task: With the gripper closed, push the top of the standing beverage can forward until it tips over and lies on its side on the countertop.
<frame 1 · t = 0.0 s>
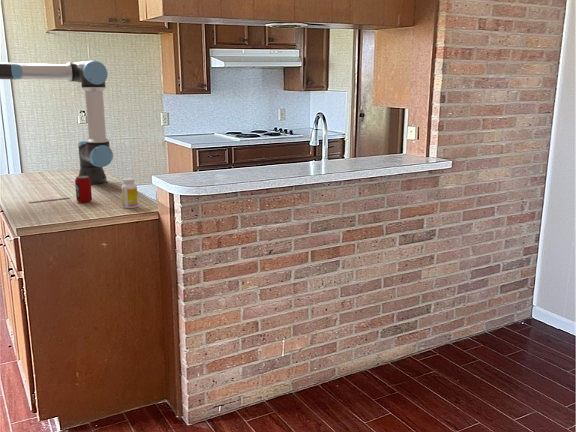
supplement bottle: (130, 207, 248), on the worktop
beverage can: (84, 202, 257), on the worktop
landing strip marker: (49, 200, 259), on the worktop
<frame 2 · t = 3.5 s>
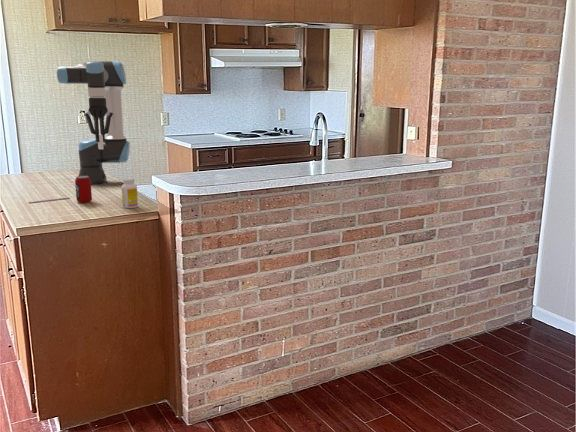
hand: (100, 149, 257), 24 cm above the worktop, fingers closed
nothing on the worktop moved.
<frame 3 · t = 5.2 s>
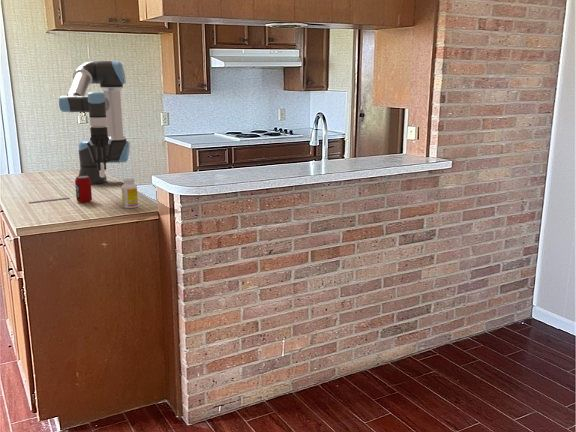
hand: (102, 176, 260), 11 cm above the worktop, fingers closed
nothing on the worktop moved.
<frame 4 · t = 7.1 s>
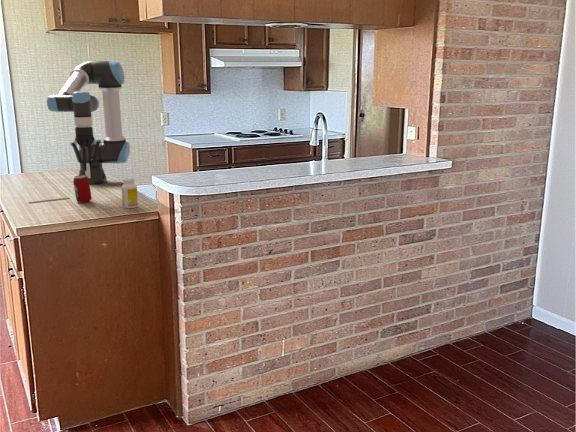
hand: (88, 177, 256), 11 cm above the worktop, fingers closed
beverage can: (84, 201, 257), on the worktop, touching gripper
everything else where it was.
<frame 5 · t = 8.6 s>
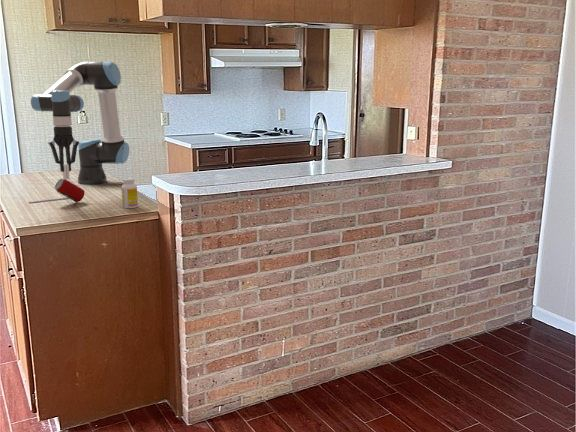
hand: (66, 178, 250), 12 cm above the worktop, fingers closed
beverage can: (81, 196, 256), point 3 cm above the worktop, touching gripper
everything else where it was.
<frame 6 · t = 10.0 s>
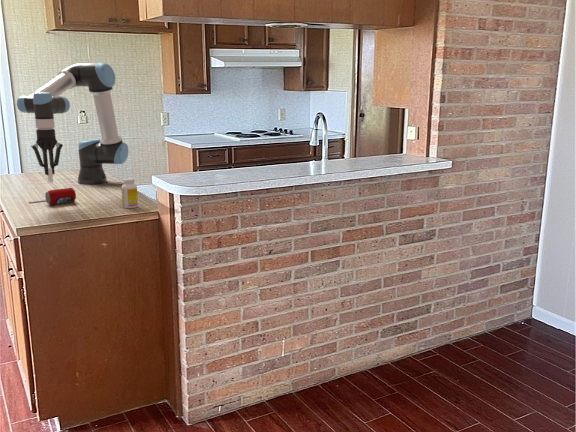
hand: (50, 181, 246), 11 cm above the worktop, fingers closed
beverage can: (74, 194, 257), point 3 cm above the worktop
everything else where it was.
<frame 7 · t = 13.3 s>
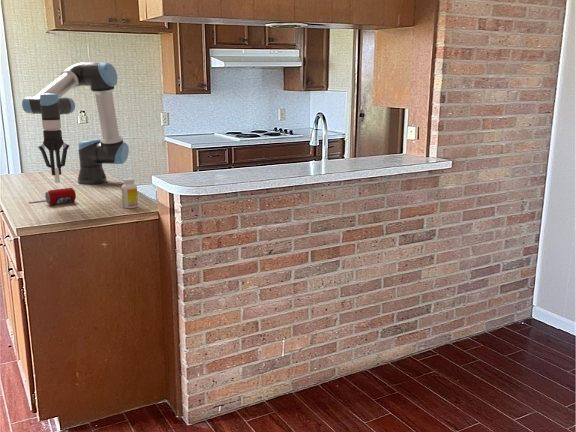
hand: (57, 182, 248), 11 cm above the worktop, fingers closed
nothing on the worktop moved.
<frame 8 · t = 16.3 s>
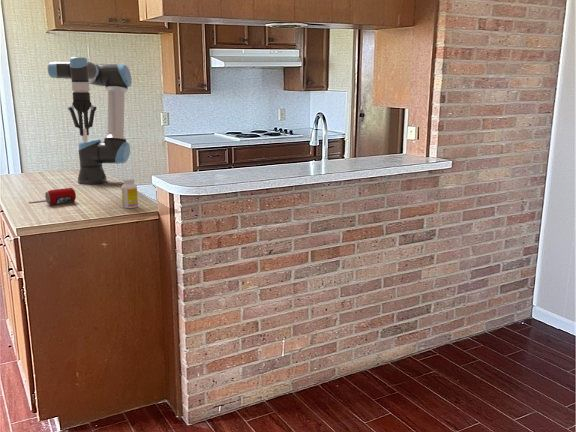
hand: (85, 142, 262), 26 cm above the worktop, fingers closed
nothing on the worktop moved.
at the end: beverage can tilted 90°; beverage can inside the target area (7.4 cm from its centre), point 3.4 cm above the worktop; the gripper is holding nothing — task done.
